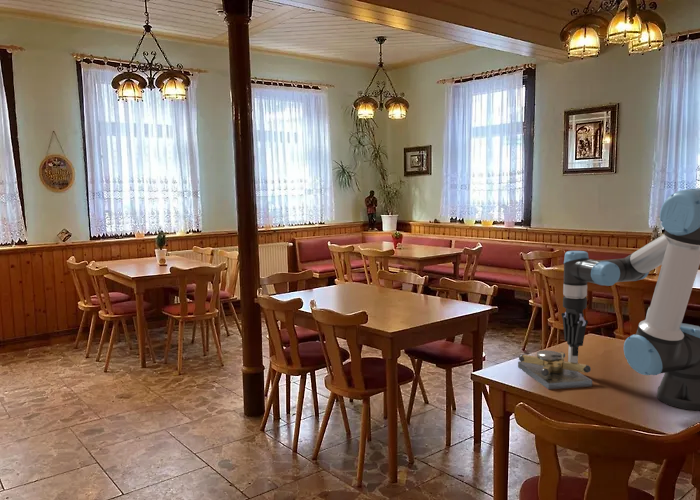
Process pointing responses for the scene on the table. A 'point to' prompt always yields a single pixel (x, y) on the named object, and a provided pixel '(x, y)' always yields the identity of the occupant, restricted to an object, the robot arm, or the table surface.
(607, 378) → the table surface
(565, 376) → the stand
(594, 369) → the table surface
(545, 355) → the capstan
